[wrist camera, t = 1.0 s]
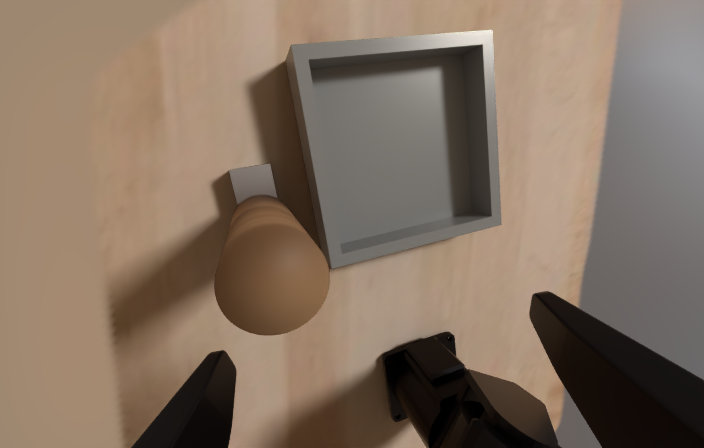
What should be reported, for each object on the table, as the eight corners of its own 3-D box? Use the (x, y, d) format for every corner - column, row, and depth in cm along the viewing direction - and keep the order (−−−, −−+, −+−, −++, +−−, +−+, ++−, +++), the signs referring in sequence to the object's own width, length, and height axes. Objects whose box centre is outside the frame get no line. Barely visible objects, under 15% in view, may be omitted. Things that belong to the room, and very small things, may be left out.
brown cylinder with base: (298, 261, 23) (345, 359, 12) (246, 274, 22) (242, 393, 11) (277, 161, 21) (309, 164, 10) (220, 171, 20) (184, 186, 9)
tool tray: (474, 217, 27) (501, 224, 24) (321, 255, 23) (331, 268, 21) (463, 45, 24) (492, 29, 21) (285, 60, 20) (291, 44, 17)
